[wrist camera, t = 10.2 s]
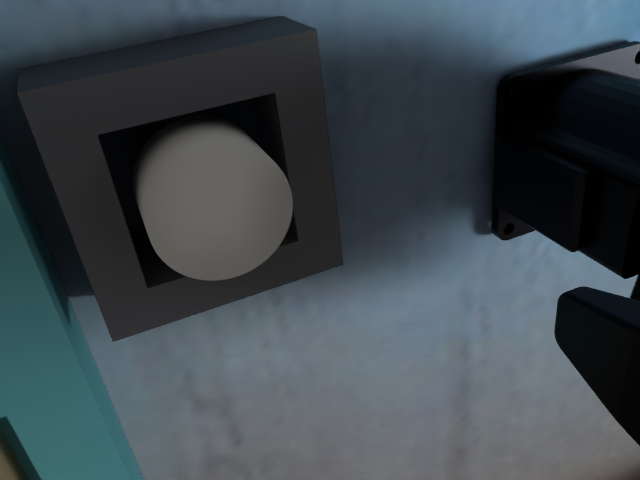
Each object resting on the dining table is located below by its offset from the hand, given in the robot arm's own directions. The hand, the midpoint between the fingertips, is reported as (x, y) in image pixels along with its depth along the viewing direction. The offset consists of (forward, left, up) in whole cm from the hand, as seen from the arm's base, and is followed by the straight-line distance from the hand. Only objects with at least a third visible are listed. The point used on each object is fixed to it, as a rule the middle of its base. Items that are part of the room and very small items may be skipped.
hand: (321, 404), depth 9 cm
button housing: (0, 0, -11) cm, 11 cm away
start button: (0, 0, -9) cm, 9 cm away
